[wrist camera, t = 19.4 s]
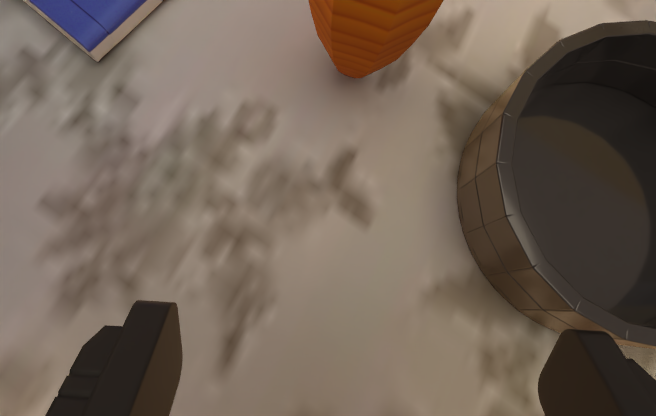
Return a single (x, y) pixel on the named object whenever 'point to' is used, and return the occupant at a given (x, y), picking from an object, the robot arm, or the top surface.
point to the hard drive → (94, 20)
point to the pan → (571, 186)
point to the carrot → (369, 30)
